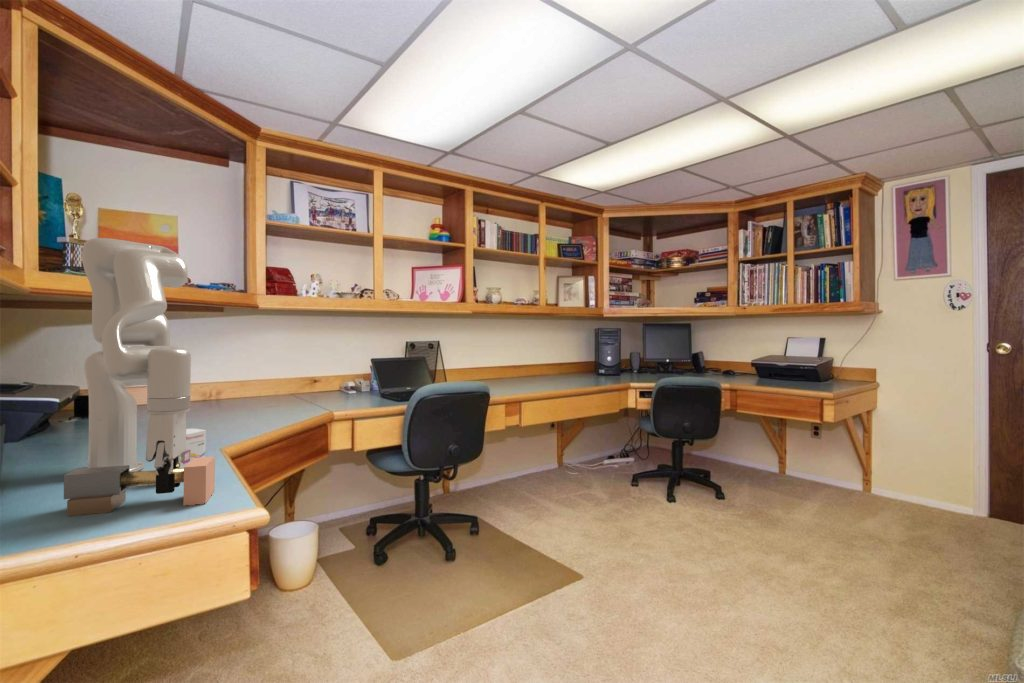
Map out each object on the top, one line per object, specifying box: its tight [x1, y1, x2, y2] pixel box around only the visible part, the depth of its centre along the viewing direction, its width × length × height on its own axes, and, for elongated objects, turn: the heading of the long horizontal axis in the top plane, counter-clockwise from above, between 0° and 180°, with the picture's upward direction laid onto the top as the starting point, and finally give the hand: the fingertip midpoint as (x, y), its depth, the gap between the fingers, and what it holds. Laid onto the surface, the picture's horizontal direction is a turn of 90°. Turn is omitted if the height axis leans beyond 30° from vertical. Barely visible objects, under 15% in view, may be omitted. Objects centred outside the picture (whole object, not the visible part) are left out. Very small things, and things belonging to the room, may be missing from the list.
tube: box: [121, 468, 184, 488], centre depth 100 cm, size 16×3×3 cm, turn 111°
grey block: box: [63, 465, 130, 517], centre depth 96 cm, size 9×7×8 cm
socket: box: [183, 456, 216, 507], centre depth 103 cm, size 4×8×8 cm, turn 21°
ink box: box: [180, 427, 207, 468], centre depth 117 cm, size 9×5×12 cm, turn 168°
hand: (168, 489), depth 101 cm, fingers closed on tube, 3 cm apart
